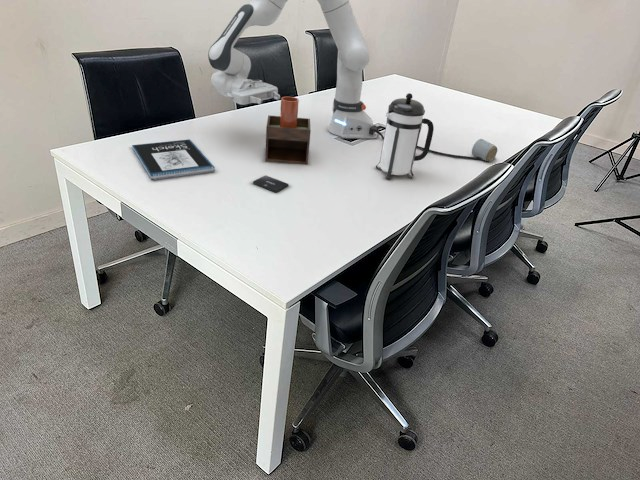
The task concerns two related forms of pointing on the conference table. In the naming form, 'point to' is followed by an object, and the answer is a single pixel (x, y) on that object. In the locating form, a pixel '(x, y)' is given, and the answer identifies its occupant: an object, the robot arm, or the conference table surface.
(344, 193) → the conference table surface
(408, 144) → the coffee press
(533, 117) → the conference table surface
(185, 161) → the sketchbook
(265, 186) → the solid state drive
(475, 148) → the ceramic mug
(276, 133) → the storage cube
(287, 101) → the tumbler
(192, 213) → the conference table surface
